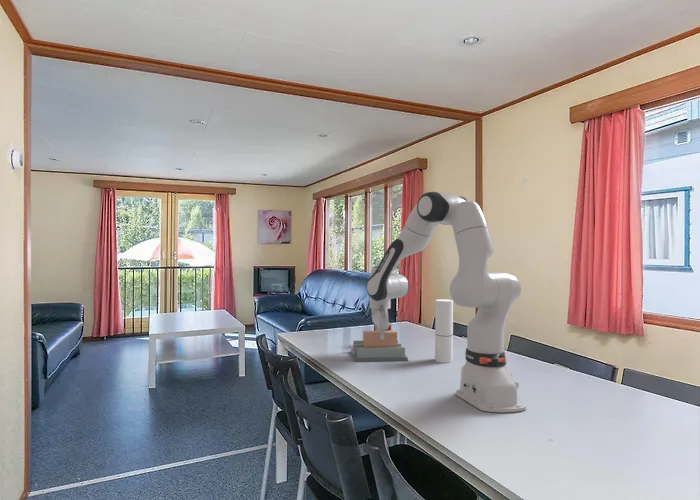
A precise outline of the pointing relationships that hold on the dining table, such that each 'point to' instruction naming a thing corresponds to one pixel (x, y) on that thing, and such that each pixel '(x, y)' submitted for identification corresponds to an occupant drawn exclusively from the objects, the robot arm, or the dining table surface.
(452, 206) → the robot arm
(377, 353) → the slotted rail base
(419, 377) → the dining table surface
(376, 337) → the terracotta tile
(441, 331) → the cylindrical container
